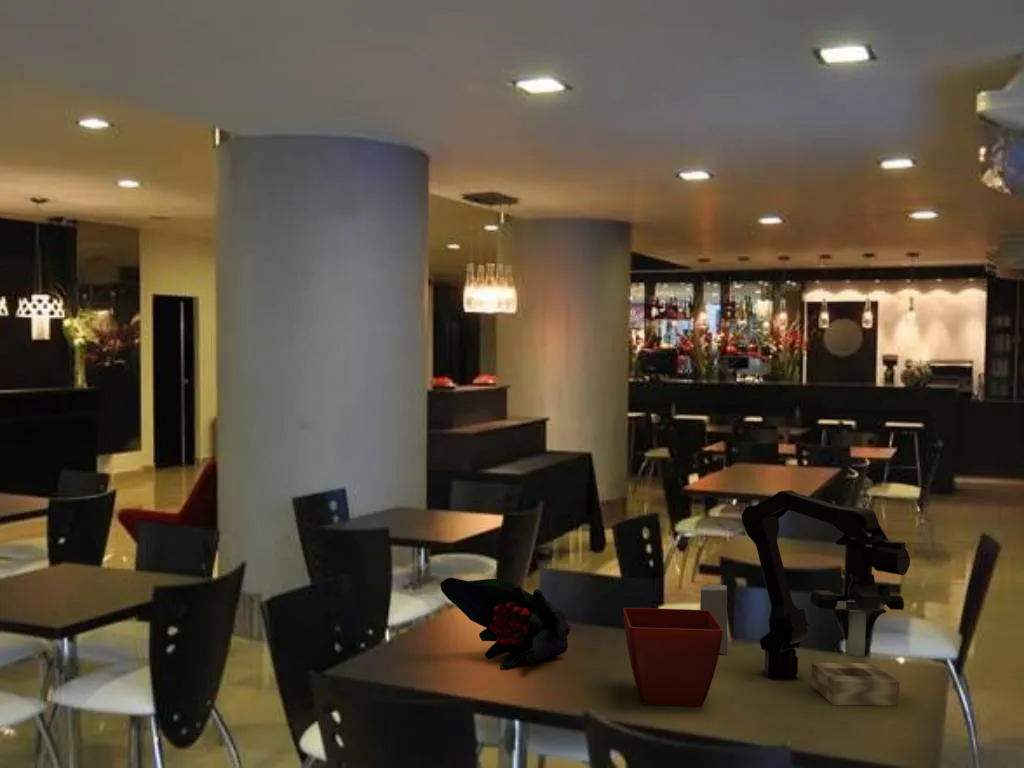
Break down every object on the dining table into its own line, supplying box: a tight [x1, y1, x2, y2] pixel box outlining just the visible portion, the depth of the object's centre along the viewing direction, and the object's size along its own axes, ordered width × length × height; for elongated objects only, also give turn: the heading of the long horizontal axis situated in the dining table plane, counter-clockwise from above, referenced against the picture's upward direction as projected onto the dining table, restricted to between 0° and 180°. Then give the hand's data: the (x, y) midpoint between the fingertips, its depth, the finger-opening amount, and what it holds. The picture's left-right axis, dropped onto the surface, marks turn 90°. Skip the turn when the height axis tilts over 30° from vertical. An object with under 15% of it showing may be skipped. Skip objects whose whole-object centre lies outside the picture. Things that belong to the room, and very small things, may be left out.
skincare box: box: [699, 584, 729, 655], centre depth 271 cm, size 8×7×16 cm
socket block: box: [810, 662, 901, 707], centre depth 237 cm, size 14×14×5 cm
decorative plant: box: [439, 577, 571, 670], centre depth 254 cm, size 21×26×30 cm
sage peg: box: [845, 609, 866, 657], centre depth 237 cm, size 4×4×9 cm
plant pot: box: [622, 607, 723, 707], centre depth 231 cm, size 19×19×17 cm
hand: (855, 639), depth 237 cm, fingers closed on sage peg, 4 cm apart
